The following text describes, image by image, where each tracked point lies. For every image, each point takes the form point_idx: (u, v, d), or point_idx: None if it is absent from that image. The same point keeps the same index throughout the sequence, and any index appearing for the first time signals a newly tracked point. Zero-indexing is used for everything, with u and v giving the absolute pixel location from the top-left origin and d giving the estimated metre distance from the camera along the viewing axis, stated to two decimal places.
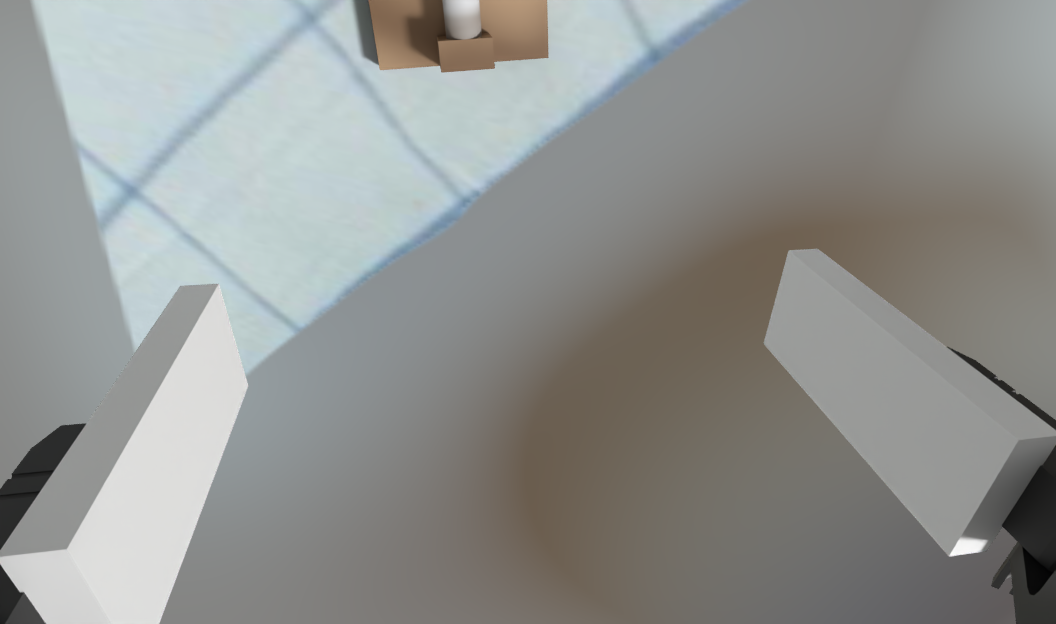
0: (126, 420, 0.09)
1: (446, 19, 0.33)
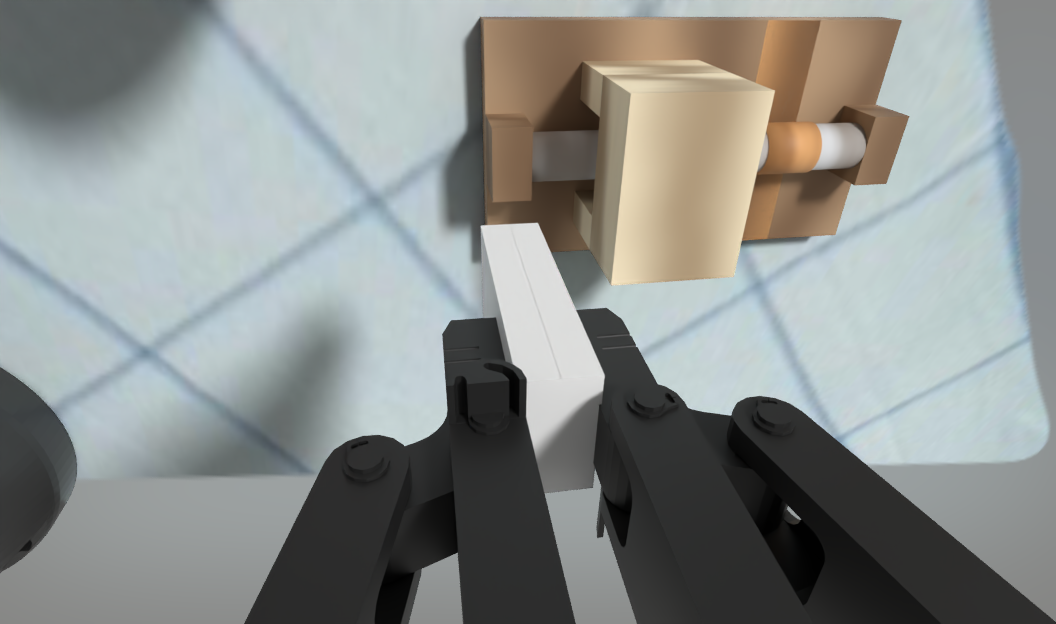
0: (527, 309, 0.12)
1: (830, 168, 0.27)
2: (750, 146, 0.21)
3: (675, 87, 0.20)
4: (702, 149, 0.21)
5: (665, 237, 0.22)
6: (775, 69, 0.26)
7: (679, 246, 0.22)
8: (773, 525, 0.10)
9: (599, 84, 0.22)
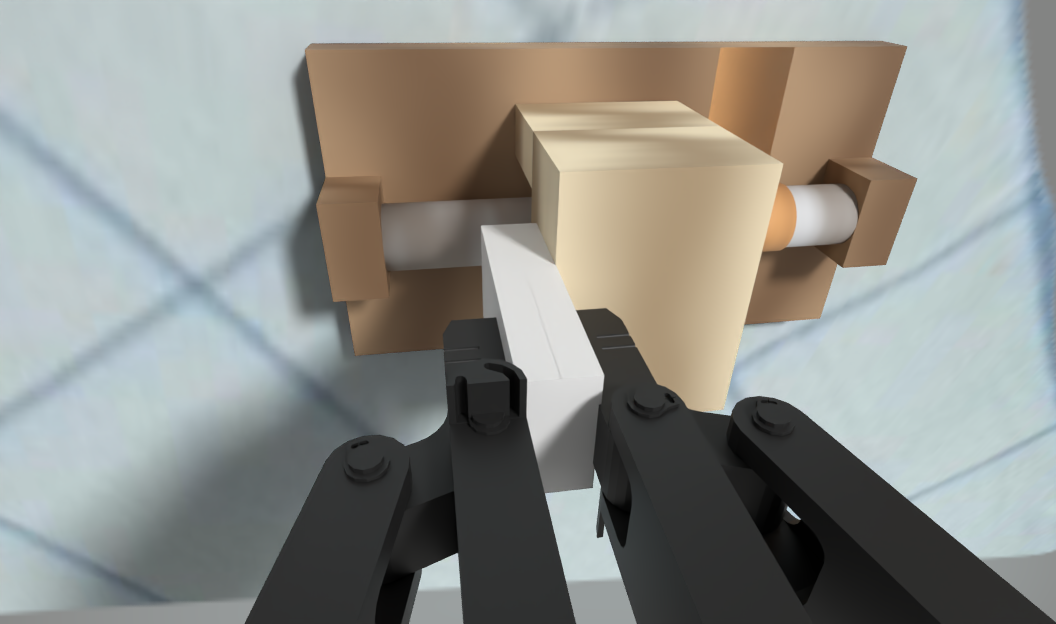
0: (527, 309, 0.12)
1: (810, 245, 0.20)
2: (746, 241, 0.14)
3: (632, 157, 0.13)
4: (674, 247, 0.14)
5: None
6: (734, 112, 0.19)
7: None
8: (773, 525, 0.10)
9: (530, 142, 0.16)
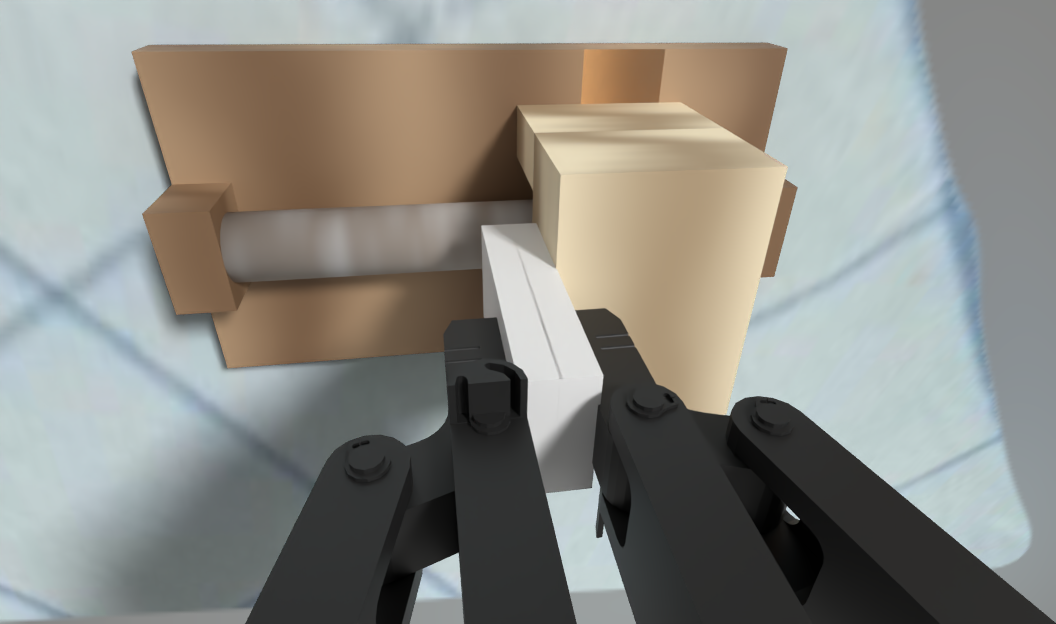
0: (528, 309, 0.12)
1: None
2: (749, 245, 0.14)
3: (634, 160, 0.13)
4: (677, 251, 0.14)
5: None
6: None
7: None
8: (772, 525, 0.10)
9: (531, 144, 0.15)
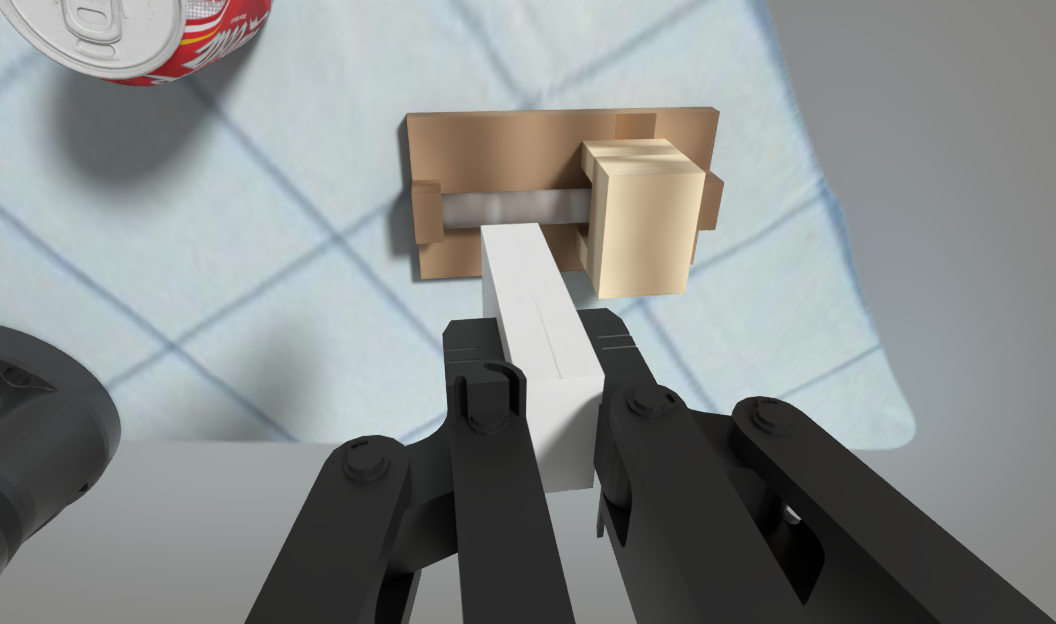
0: (527, 309, 0.12)
1: None
2: (691, 207, 0.31)
3: (640, 170, 0.30)
4: (658, 209, 0.31)
5: (635, 266, 0.32)
6: None
7: (645, 273, 0.33)
8: (773, 525, 0.10)
9: (592, 161, 0.33)
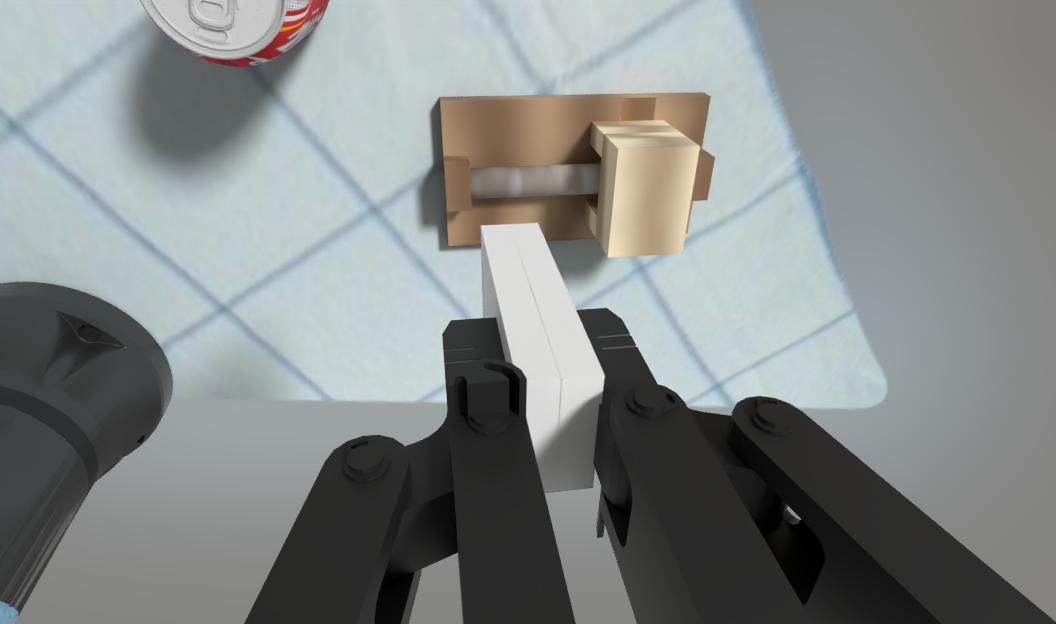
0: (527, 309, 0.12)
1: None
2: (687, 176, 0.36)
3: (644, 143, 0.36)
4: (660, 178, 0.36)
5: (639, 229, 0.38)
6: None
7: (648, 234, 0.38)
8: (773, 525, 0.10)
9: (601, 138, 0.38)
